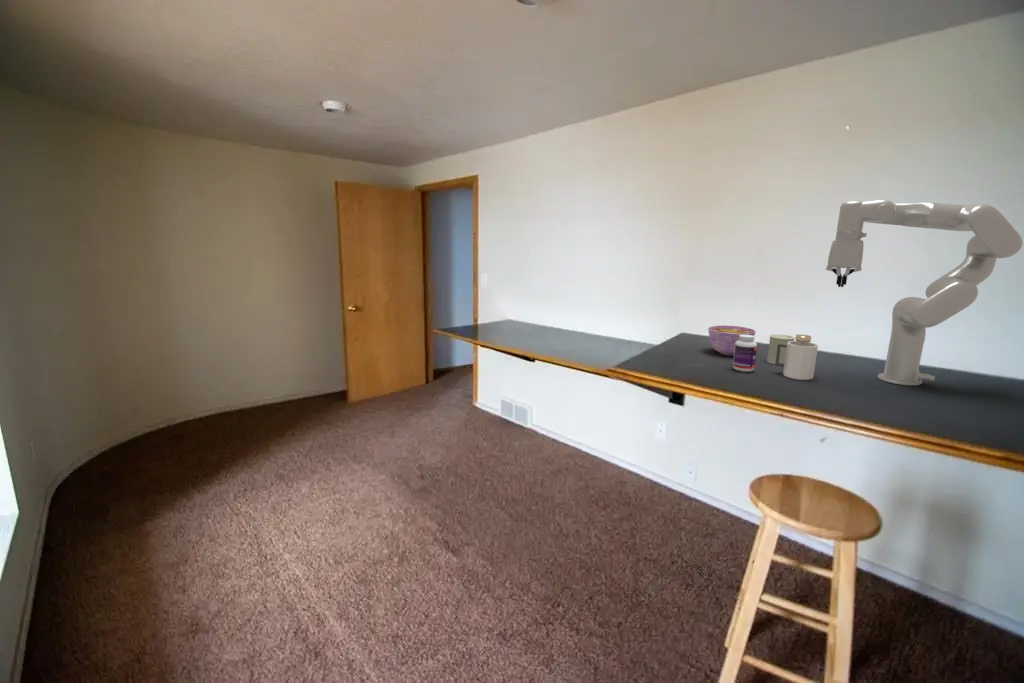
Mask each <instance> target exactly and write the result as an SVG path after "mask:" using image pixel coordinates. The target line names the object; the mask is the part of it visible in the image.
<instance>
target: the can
mask: <svg viewBox="0 0 1024 683" xmlns="http://www.w3.org/2000/svg"><path fill="white" fill-rule="evenodd" d="M790 341H795V337H794V336H792V335H787V334H770V335H769V343H768V353H767V358H766V362H767V363H769V364H772V365H775V363H776V355H777V347H778V343H780V344H787V343H788V342H790ZM786 349H787V348H786V347H781V350H780V358H779V363H783V364H785V357H786Z"/></svg>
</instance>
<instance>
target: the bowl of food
mask: <svg viewBox="0 0 1024 683" xmlns="http://www.w3.org/2000/svg"><path fill="white" fill-rule="evenodd" d="M707 330H708V335H709V336H708V337H709V341H710V342H709V343H710V345H711V347H712V349H713V350H715V351H717V352H718V353H719V354H721V355H724V356H731V357H732V356H733V357H734V351H735V343H736V341H738V340H740V339H739V335H752V336H754V337H755V335H756V332H757V331H756V330H755V329H753V328H750V327H744V326H737V325H713V326H708V328H707Z"/></svg>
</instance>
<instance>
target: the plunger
mask: <svg viewBox="0 0 1024 683" xmlns="http://www.w3.org/2000/svg"><path fill="white" fill-rule="evenodd" d="M811 340H812V335H809V334H795V338H794V341H798V342H801V346H804V342H810V343H812V342H811Z"/></svg>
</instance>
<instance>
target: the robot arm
mask: <svg viewBox="0 0 1024 683" xmlns="http://www.w3.org/2000/svg"><path fill="white" fill-rule="evenodd" d="M838 214H839V215H838V221H837V226H836V232H835V233H836V234H835V240H833V241H832V242H831V246H830V249H829V252H828V253H829V254H828V259H827V265H826V267H825V270H826V271H829V272H833V273H834V274H835V275H836V283H835V284H836V285H837V287H838V288H844V286H845V285H847V282H848V281H847V280H848V276H850V275H851V274H852V273H857V272H861V271H862V263H863V256H864V240H862V238H865V237H867V235H868V234H867V233H866V232H863V228H864V223H869V224H879V225H880V224H881V225H892V226H902V227H909V228H923V229H934V230H944V231H953V232H954V231H955V232H972V233H974V235H973V236H972V237H971V238H969V240H968V241H967V244H966V252H965V257H964V258H963V259H964V260H963V261H962V262H961V263H960V264H959V265H957V266H955V267H954V268H953V269H951V270H950V271H948V272H947V273H945V274H943V275H942V276H940V277H939V278H937V279H936V280H934V281H932V282H931V283H930V284H929V285H928V286H927V287H926V289H925V296H926V298H921V297H916V296H907V297H903V298H901V299H900V300H898V301H897V302H896V303H895V304H894V306H893V308H892V313H891V314H892V315H891V318H892V319H891V320H892V321H891V323H892V324H891V333H890V339H889V343H888V348H887V349H888V350H887V353H886V354H887V355H886V359H885V364H884V371H883V372H882V373H878V374H877V378H878V379H879V380H881V381H883V382H886V383H891V384H895V385H900V386H920V385H922V383H923V380H924V381H929V382H934V381H935V377H936V376H935V375H930V374H928V373H922V372H920V369H919V368H920V364H921V359H922V355H923V349H924V345H925V341H926V340H925V339H926V333H927V332H926V328H927V329H928V328H933V327H935V326H937V325H940V324H941V323H943V322H945V321H947V320H948V319H950V318H952V317H954V316H955V315H957V314H959V313H960V312H961V311H963V310H965V309H966V308H968V307H969V306H971V305H972V304H973V303H974V302H975V301H976V300H977V297H978V295H979V288H978V285H980V284H981V283H983V282H984V281H985V280H986V279H988V278H989V277H990V276H991V275H992V273H993V271H994V268H995V265H996V261H997V259H1004V258H1005V259H1006V258H1010V257H1013V256H1014V255H1016V254H1018V252H1020V250H1021V249H1022V246H1023V238H1022V237H1021V234H1019V232H1018V231H1017V230H1016V228H1015V227H1014V226H1013V225H1012V224H1011V222H1010V221H1009V220H1008V219H1007V218H1006V217H1005V216H1004V215H1003V214H1002V213H1001V211H999V210H998V209H997V208H995V206H992V205H991V204H975V205H965V204H952V203H941V202H940V203H938V202H929V201H928V202H927V201H926V202H925V201H924V202H914V203H893V201H891V200H889V199H876V200H871V201H870V200H869V201H861V200H856V201H844V202H842V204H841V205H840V207H839V213H838ZM842 269H845V271H844V273H843V274H842Z"/></svg>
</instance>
